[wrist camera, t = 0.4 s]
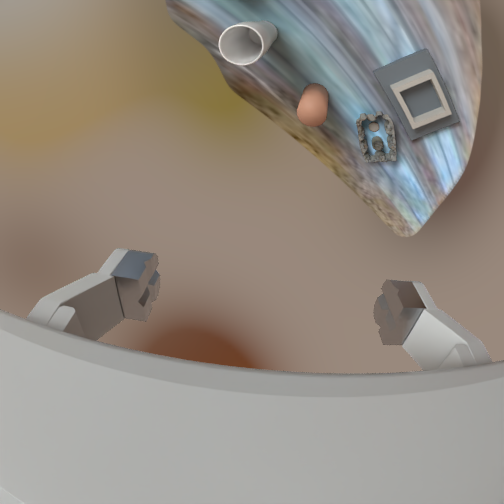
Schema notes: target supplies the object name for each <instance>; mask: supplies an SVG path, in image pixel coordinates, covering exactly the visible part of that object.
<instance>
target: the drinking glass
mask: <svg viewBox="0 0 504 504" xmlns="http://www.w3.org/2000/svg"><path fill="white" fill-rule="evenodd" d="M276 38H277V29H276V27H275V26H274V25H273V24H272V23H270V22H268V21H263V20H261V21H249V22H242V23H238V24H235V25H233V26H231V27H229V28H227V29H226V30H225V31H224V32H223V33H222V35H221V36H220V39H219V50H220V52H221V54H222V56H223V57H224V58H225V59H226V60H227V61H229V62H230V63H233V64H235V65H249V64H252V63H254V62H256V61H257V60H259V59H260V58H262V57H263V56H264V55H265V54H266V53H267V51H268V50H269V48H270V46H271V45H272V43H273V42H274V41H275V40H276Z"/></svg>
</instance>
